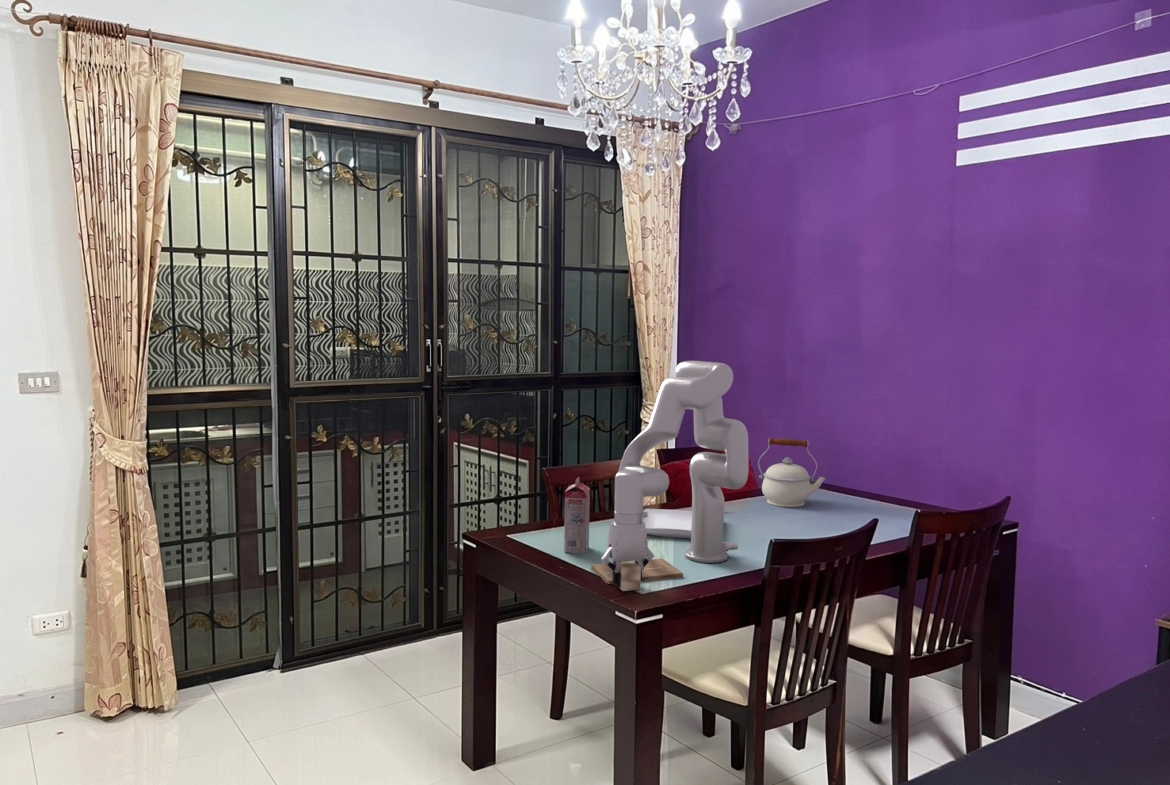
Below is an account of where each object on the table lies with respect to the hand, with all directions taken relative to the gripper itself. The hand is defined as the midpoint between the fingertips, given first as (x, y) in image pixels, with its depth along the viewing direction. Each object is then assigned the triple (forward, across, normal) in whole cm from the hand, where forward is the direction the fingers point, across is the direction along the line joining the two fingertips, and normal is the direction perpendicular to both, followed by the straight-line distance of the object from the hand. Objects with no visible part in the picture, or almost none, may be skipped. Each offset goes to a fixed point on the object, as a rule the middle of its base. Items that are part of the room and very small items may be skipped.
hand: (627, 584), depth 221 cm
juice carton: (+1, +2, -36) cm, 36 cm away
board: (+1, -7, -10) cm, 13 cm away
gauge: (+1, 0, -3) cm, 3 cm away
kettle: (+1, -96, -71) cm, 120 cm away
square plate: (+2, -39, -49) cm, 63 cm away
